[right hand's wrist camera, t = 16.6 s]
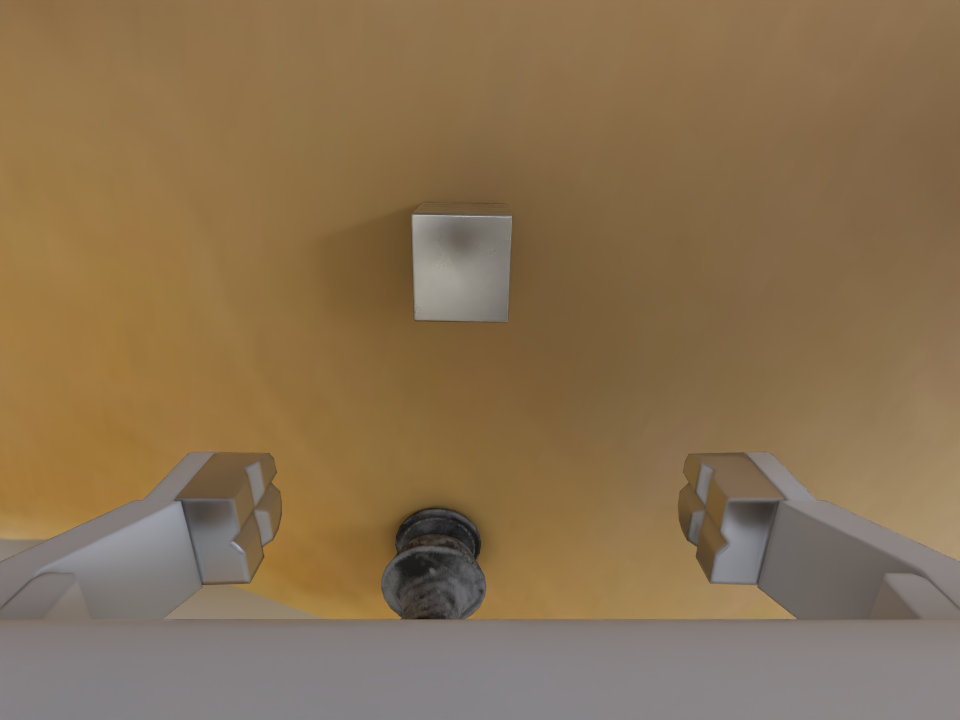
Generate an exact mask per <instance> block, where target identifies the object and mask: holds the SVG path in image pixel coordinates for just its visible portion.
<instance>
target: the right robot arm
mask: <svg viewBox="0 0 960 720" xmlns="http://www.w3.org/2000/svg"><path fill="white" fill-rule="evenodd" d="M276 473H277V470H276V466H275V461H274V457H273V456H272V455H271V454H270V453H238V452H219V453H218V452H193V453H188V454H187V455H186V456H185V457H184V458H183V459H182V460H181V461H180V463H179V464H178V465H177V466H176V467H175V468H174V469H173V470H172V471H171V472H170V473H169V474H168V475H167V476H166V477H165V478H164V479H163V480H162V481H161V482H160V483H159V484H158V485H157V486H156V487H155V488H154V489H153V490H152V492H151V493H150V494H149V495H148V496H147V497H146V498H145V499H144V500H143V501H132V502H130V503H128V504H126V505H124V506H121V507H119V508H117V509H115V510H113V511H110V512H108V513H106V514H104V515H102V516H99V517H97V518H95V519H93V520H91V521H88V522H86V523H84V524H82V525H80V526H77V527H75V528H73V529H71V530H69V531H66V532H64V533H62V534H60V535H58V536H55V537H53V538H51V539H49V540H47V541H44V542H42V543H40V544H38V545H36V546H33V547H31V548H29V549H27V550H25V551H23V552H20V553H18V554H16V555H14V556H12V557H9V558H7V559H5V560H3V561H1V562H0V720H960V562H959V561H957V560H955V559H953V558H950V557H948V556H946V555H944V554H942V553H939V552H937V551H935V550H933V549H931V548H928V547H926V546H924V545H922V544H920V543H917V542H915V541H913V540H911V539H909V538H906V537H904V536H902V535H900V534H898V533H896V532H893V531H891V530H889V529H887V528H885V527H882V526H880V525H878V524H876V523H874V522H871V521H869V520H867V519H865V518H863V517H860V516H858V515H856V514H854V513H852V512H850V511H847V510H845V509H843V508H841V507H839V506H836V505H834V504H832V503H830V502H828V501H817V500H816V499H815V498H814V497H813V496H812V495H811V494H810V493H809V491H808V490H807V489H806V488H805V487H804V486H803V485H802V484H801V483H800V482H799V481H798V480H797V479H796V478H795V477H794V476H793V475H792V474H791V473H790V472H789V471H788V470H787V469H786V468H785V467H784V466H783V464H782V463H781V462H780V461H779V460H778V459H777V458H776V457H775V456H774V455H773V454H771V453H768V452H742V453H705V454H688V456H687V458H686V461H685V465H684V470H683V473H684V475H685V476H686V478H687V480H688V481H689V483H688V484H687V485H686V486H685V487H684V488H683V489H682V490H681V491H680V494H679V502H678V513H679V522H680V525H681V528H682V531H683V533H684V535H685V537H686V539H687V540H688V541H689V542H691V543H692V544H694V545H695V546H697V553H696V558H697V560H698V562H699V564H700V566H701V568H702V569H703V571H704V573H705V575H706V577H707V579H708V581H709V582H710V584H742V585H758V588H759V589H761V590H762V591H763V592H764V593H766V594H767V595H768V596H769V597H771V598H772V599H773V600H774V601H776V602H777V603H778V604H779V605H781V606H782V607H783V608H784V609H786V610H787V611H788V612H789V613H791V614H792V615H793V616H794V617H796V618H797V619H163V618H164V617H166V616H167V615H168V614H169V613H171V612H172V611H173V610H175V609H176V608H177V607H178V606H179V605H181V604H182V603H183V602H185V601H186V600H187V599H188V598H190V597H191V596H192V595H193V594H195V593H196V592H197V591H198V590H200V589H201V588H202V585H217V584H250V583H251V581H252V579H253V577H254V575H255V573H256V571H257V569H258V568H259V566H260V564H261V562H262V560H263V558H264V553H263V546H265V545H266V544H268V543H269V542H271V541H272V540H273V539H274V537H275V535H276V533H277V531H278V529H279V525H280V520H281V516H282V500H281V494H280V491H279V490H278V489H277V488H276V487H275V486H274V485H273V484H272V483H271V481H272V480H273V478H274V476H275V475H276Z"/></svg>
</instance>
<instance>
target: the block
mask: <svg viewBox="0 0 960 720" xmlns="http://www.w3.org/2000/svg"><path fill="white" fill-rule="evenodd" d="M512 220H513V217H512V214H511V212H510V210H509V208H508V206H507V204H483V203H433V202H423V203H422V204H421V205H420V206H419V207H418V208H417V209H416V210H415V211H413V212H412V213H411V239H412V273H413V308H414V320H415V321H442V322H496V323H507V322H508V316H509V292H510V268H511V244H512Z"/></svg>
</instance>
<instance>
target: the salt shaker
mask: <svg viewBox="0 0 960 720" xmlns="http://www.w3.org/2000/svg"><path fill="white" fill-rule="evenodd" d="M480 547H481V541H480V536H479V533H478V531H477V529H476V527H475V526H474V525H473V524H472V523H471V522H470V521H469V520H468V519H467V518H466V517H464V516H462V515H461V514H459V513H456V512H453V511H450V510H445V509H430V510H424V511H421V512H418V513H416V514H414V515H412V516H411V517H409V518H408V519H406V520H405V522H404V523H403V524H402V525H401V526H400V528H399V531H398V533H397V535H396V549H397V553H398V554H397V555H396V556H395V557H394V558H393V559H392V561H391V562H390V563H389V564H388V565H387V566H386V569H385V571H384V573H383V576H382V585H381V589H382V593H383V596H384V599H385V601H386V602H387V604H388V605H389V607H390V608H391V609H392V610H393V611H394V612H396V613H397V614H398V615H399V616H400V617H402V618H401V619H466V618H467V617H469V616H471V615H472V614H473V613H474V612H475V611H476V610H477V609H478V608H479V607H480V605H481V603H482V601H483V600H484V598H485V592H486V582H485V577H484V574H483V572H482V570H481V568H480V567H479V565H478V563H477V561H476V559H477V557H478V555H479V553H480Z"/></svg>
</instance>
